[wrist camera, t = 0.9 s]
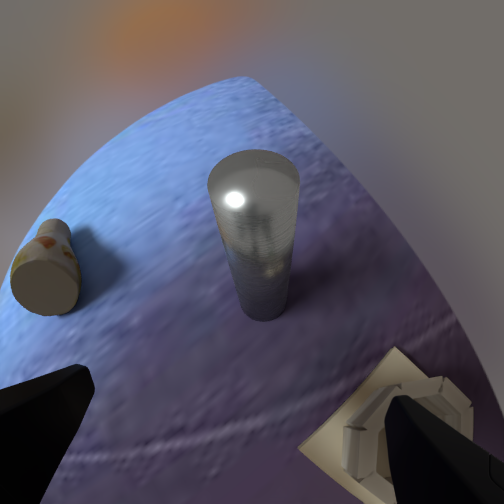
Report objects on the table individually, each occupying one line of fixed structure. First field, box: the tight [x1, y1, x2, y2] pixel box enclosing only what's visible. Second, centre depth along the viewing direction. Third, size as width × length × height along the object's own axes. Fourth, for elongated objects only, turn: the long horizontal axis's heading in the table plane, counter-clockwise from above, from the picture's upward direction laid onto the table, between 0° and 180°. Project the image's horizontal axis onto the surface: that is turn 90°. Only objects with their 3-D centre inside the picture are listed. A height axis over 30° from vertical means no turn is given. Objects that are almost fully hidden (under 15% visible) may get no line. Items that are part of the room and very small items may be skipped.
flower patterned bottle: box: [10, 219, 81, 316], centre depth 22 cm, size 8×10×10 cm
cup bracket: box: [298, 347, 473, 504], centre depth 14 cm, size 10×10×5 cm
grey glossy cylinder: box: [207, 149, 300, 322], centre depth 17 cm, size 4×4×13 cm
